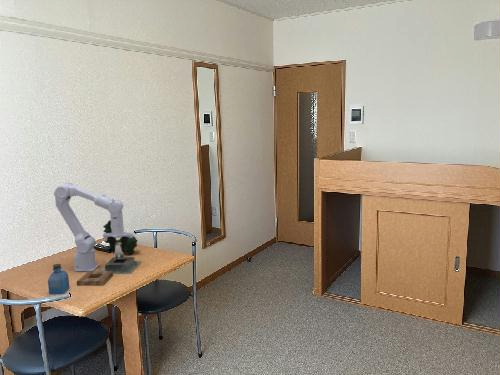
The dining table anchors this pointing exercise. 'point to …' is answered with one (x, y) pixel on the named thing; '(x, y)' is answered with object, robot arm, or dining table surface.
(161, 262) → the dining table surface
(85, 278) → the walnut stand
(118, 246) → the steel peg
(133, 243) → the toy figurine
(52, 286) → the perfume bottle
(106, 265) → the metal hub block
